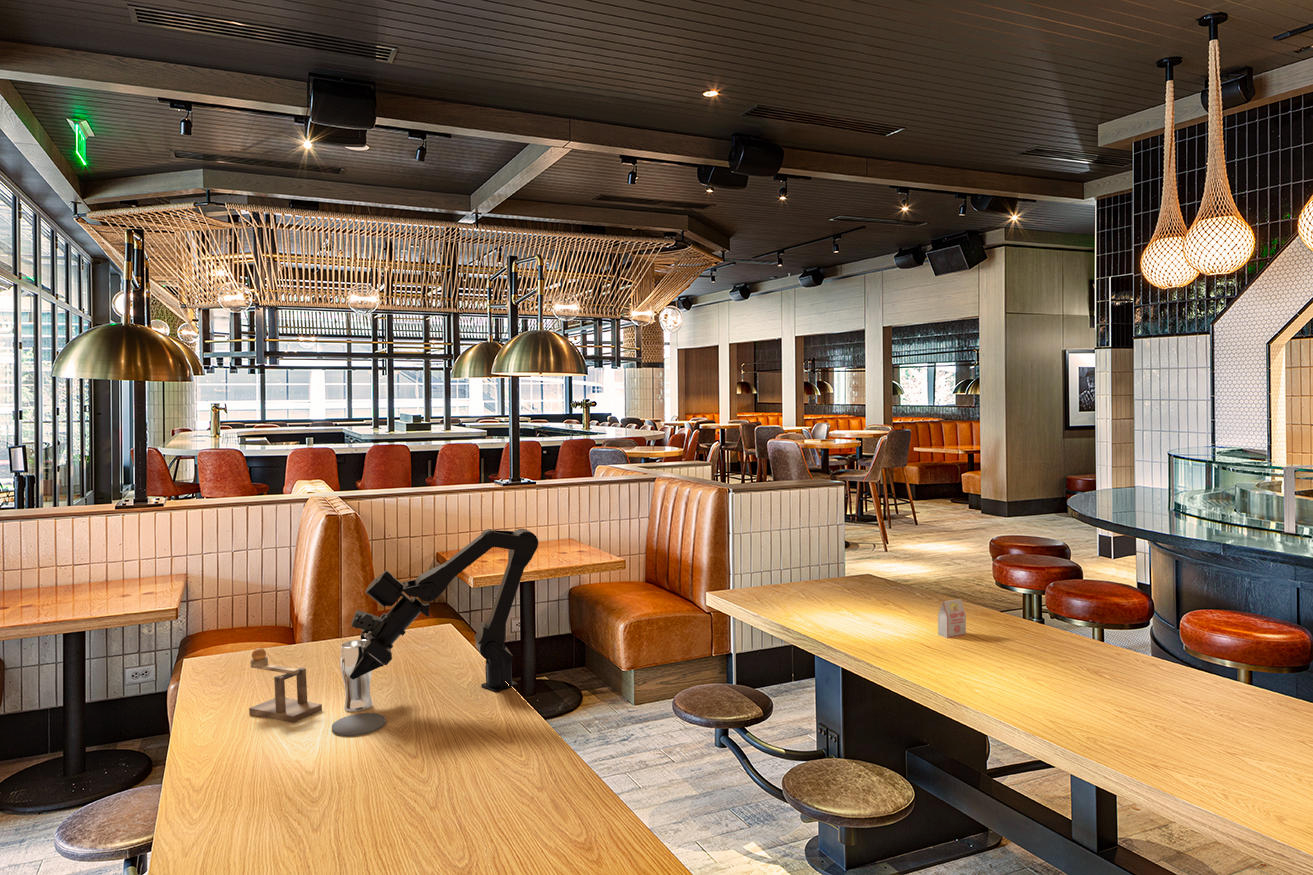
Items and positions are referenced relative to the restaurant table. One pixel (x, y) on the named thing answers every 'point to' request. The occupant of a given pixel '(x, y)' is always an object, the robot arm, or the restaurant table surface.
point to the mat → (358, 724)
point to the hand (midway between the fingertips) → (350, 672)
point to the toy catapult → (283, 693)
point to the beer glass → (360, 686)
